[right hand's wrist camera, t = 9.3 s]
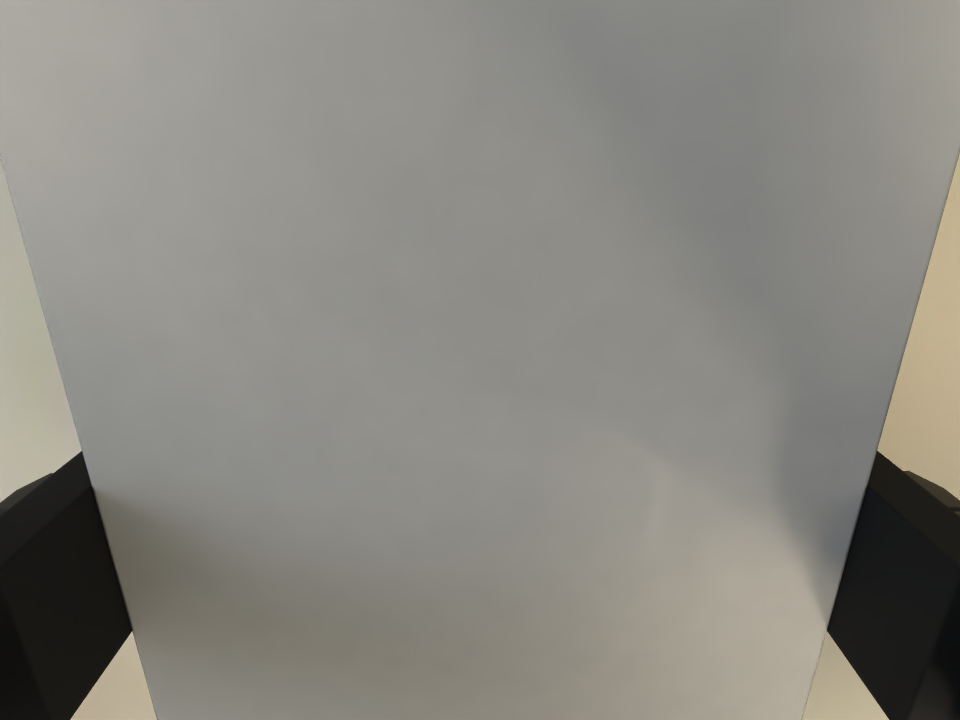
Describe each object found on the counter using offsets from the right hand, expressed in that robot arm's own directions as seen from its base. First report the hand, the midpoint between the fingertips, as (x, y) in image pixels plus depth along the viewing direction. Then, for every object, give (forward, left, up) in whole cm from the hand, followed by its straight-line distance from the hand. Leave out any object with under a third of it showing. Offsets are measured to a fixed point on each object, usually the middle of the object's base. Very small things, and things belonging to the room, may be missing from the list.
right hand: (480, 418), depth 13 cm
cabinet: (+3, -2, -5) cm, 6 cm away
